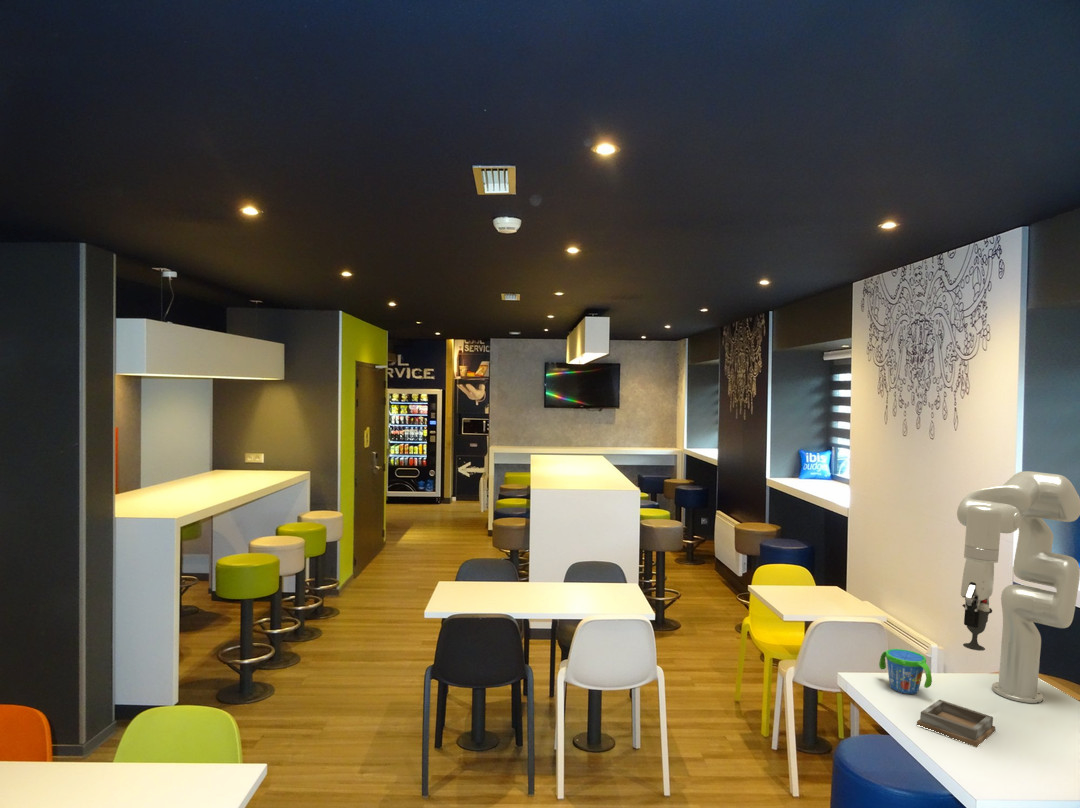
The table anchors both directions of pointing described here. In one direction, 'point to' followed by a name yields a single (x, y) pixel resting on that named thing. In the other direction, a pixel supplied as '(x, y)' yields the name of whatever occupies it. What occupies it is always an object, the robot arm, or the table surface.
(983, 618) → the sundae
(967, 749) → the table surface
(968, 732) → the stand
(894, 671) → the snack cup
